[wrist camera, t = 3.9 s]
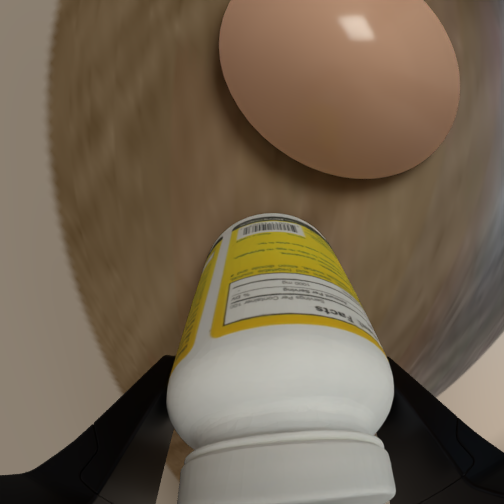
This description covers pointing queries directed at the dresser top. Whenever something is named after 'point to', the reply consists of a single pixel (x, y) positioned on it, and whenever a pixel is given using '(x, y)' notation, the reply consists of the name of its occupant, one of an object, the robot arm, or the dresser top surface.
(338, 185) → the dresser top surface
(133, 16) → the dresser top surface
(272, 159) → the dresser top surface
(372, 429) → the pill bottle
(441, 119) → the tan round disc
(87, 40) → the dresser top surface
